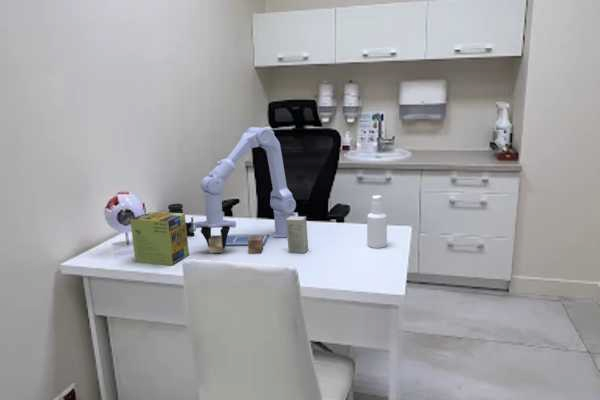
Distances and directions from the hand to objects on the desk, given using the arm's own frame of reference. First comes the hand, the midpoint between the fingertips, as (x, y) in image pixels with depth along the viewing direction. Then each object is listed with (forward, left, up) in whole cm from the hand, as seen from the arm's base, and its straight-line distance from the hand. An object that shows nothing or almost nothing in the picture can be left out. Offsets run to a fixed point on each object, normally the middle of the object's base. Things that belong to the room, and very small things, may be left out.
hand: (217, 246), depth 166 cm
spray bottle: (-57, -5, -2) cm, 57 cm away
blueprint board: (-7, -12, -2) cm, 14 cm away
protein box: (+18, +6, -2) cm, 19 cm away
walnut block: (-14, 0, -2) cm, 14 cm away
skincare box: (-29, 0, -2) cm, 29 cm away
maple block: (0, 0, -1) cm, 1 cm away
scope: (+19, -16, -2) cm, 25 cm away
